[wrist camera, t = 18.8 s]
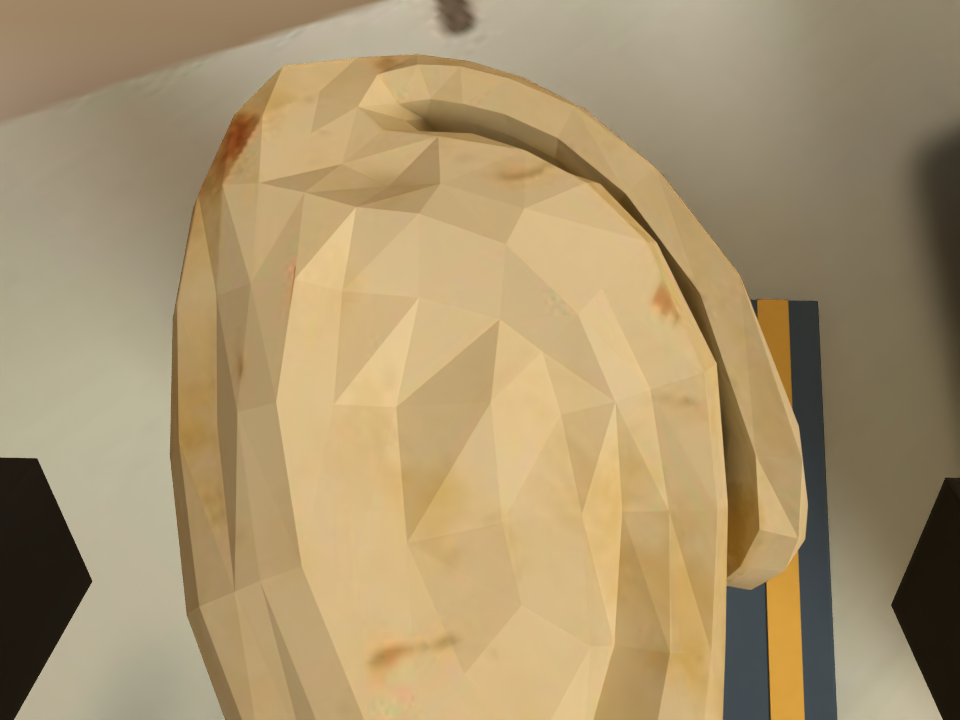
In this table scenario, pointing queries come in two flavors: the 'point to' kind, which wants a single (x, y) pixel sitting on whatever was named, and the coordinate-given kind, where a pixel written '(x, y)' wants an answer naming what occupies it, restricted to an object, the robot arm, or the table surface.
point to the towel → (807, 580)
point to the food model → (464, 411)
